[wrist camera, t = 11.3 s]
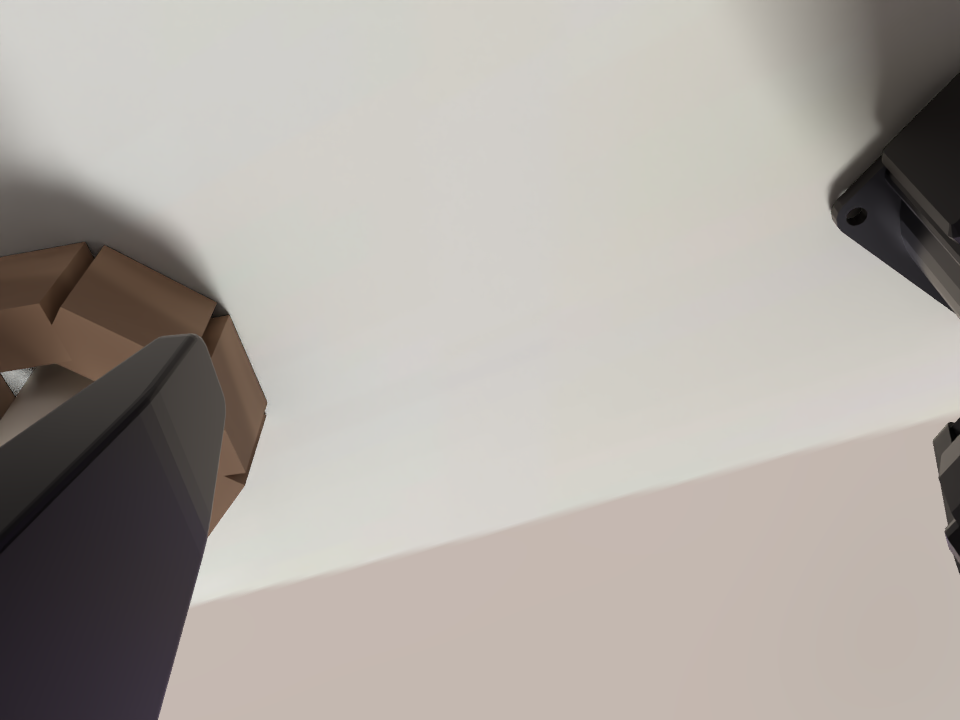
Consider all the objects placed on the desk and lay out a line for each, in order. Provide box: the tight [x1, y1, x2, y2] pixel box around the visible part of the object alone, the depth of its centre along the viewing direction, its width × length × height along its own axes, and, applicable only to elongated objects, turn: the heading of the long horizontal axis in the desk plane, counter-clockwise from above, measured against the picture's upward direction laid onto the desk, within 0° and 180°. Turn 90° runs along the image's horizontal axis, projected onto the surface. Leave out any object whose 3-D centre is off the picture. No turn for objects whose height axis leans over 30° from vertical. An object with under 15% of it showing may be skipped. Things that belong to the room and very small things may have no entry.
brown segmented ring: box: [0, 242, 267, 538], centre depth 25 cm, size 9×9×3 cm
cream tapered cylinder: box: [0, 363, 94, 446], centre depth 21 cm, size 4×4×13 cm
